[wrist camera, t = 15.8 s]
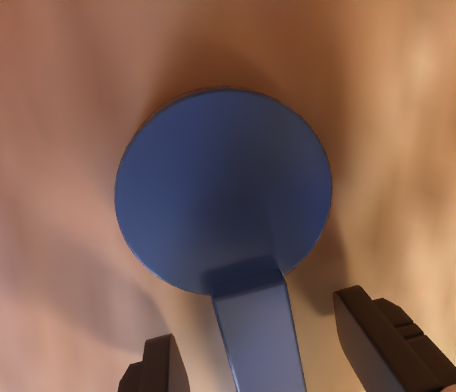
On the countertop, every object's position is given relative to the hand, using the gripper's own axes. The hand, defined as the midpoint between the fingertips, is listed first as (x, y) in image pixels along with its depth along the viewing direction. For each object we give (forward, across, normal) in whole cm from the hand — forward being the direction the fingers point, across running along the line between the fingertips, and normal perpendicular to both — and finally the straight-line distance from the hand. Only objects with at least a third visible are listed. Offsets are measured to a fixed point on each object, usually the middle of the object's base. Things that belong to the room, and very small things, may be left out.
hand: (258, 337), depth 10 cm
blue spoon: (+1, 0, 0) cm, 1 cm away
